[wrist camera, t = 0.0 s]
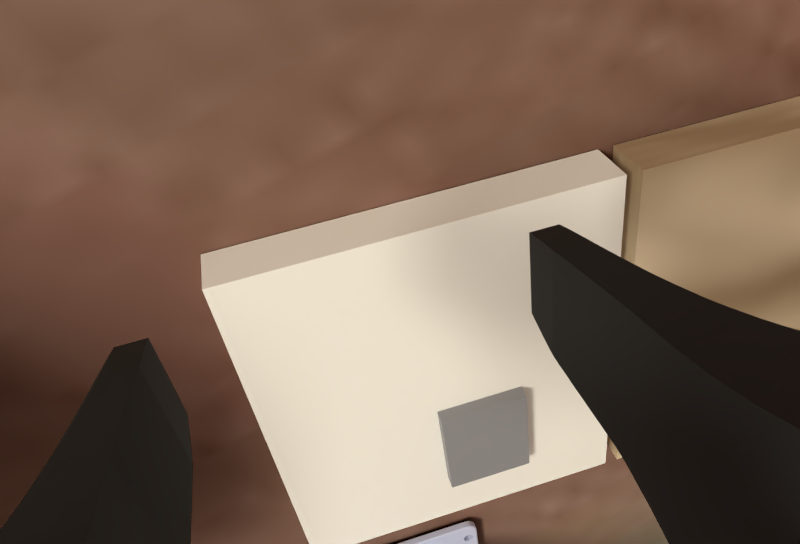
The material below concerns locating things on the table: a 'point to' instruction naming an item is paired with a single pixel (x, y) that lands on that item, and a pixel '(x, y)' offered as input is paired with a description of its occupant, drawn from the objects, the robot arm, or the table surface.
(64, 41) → the table surface
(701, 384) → the robot arm
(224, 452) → the table surface
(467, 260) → the door
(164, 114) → the table surface
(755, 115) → the beige slab
